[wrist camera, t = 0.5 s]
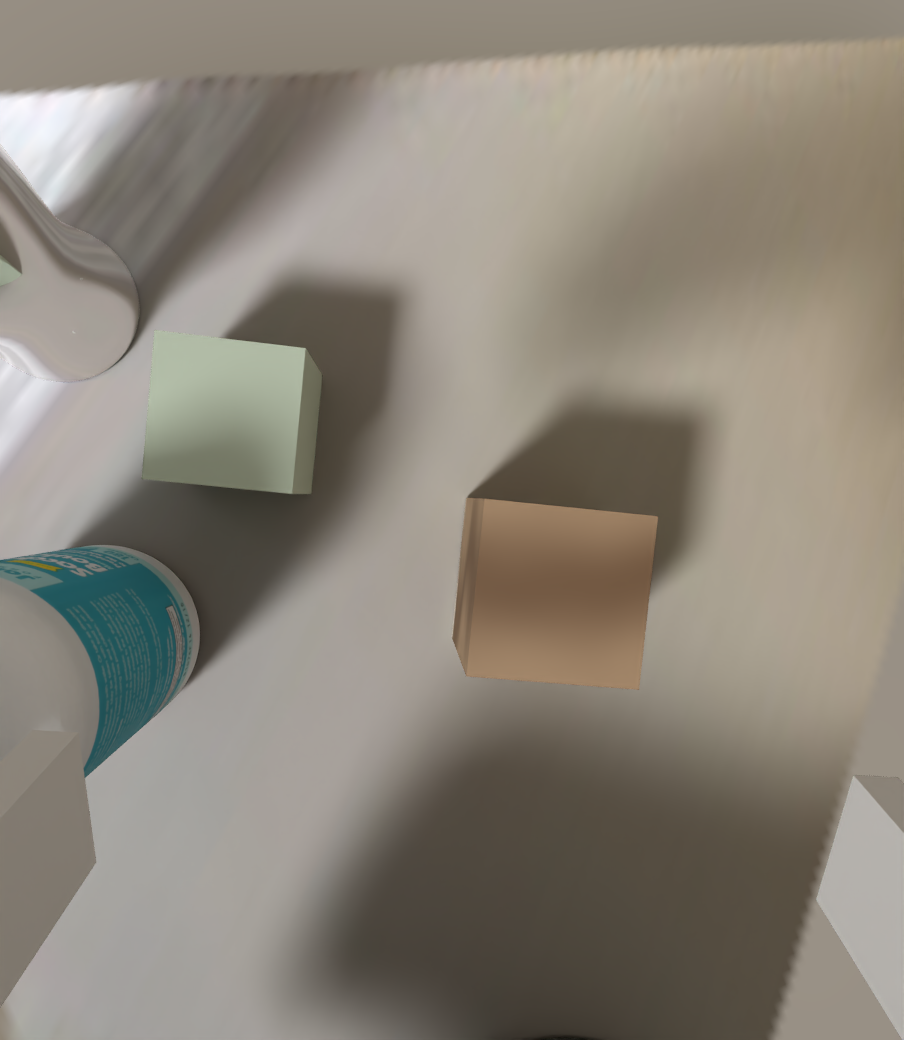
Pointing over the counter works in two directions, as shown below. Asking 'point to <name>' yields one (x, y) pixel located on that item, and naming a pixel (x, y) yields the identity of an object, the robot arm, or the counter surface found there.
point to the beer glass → (58, 290)
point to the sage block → (231, 414)
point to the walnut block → (553, 593)
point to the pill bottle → (91, 645)
